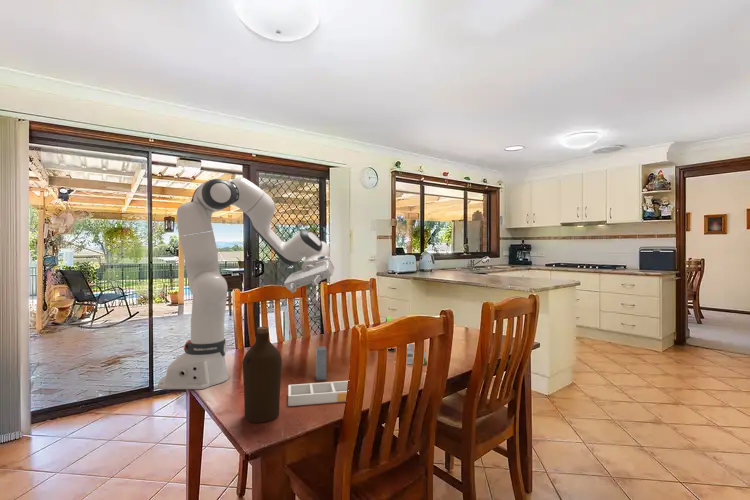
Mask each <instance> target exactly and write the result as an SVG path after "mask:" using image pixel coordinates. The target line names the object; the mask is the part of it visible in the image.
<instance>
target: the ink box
mask: <svg viewBox="0 0 750 500" xmlns="http://www.w3.org/2000/svg"><path fill="white" fill-rule="evenodd" d="M426 344H427V340H426V341H425V352H424V364H423V365H426V361H427V360H426V358H427V357H426V355H427V353H426V352H427V347H426V346H427V345H426ZM413 354H414V344H409V345H408V347H407V364H406V365H414V364H413Z"/></svg>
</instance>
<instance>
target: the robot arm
mask: <svg viewBox="0 0 750 500" xmlns="http://www.w3.org/2000/svg"><path fill="white" fill-rule="evenodd" d="M230 206H235V207H237V208H239V210H241V211H242V212H243V213H244V214H245V215H246V216H248V218H249V219H250V221H251V227H252V229H253V231H254V232H255V233H256V234H257V235H258V236H259V237H260V239H262V241H263V242H264V243H266V245H267V246H268V247H269V248H270V249H271V250H272V251H273V252H274V253H275V255H276V256H277V258H278V259H279V260H280V262H281V263H282V264H284V265H287V266H290V267H291V266H296V265H297V264H298V263H299V262H300V261H301V260H302V259H304V258H305V259H304V261H303V263H302V265H301V269H300V270H298V271H294V272H291V274H290V275H288V276H287V278H286V279H285V281H284V282H283V283H284V287H285V288H286V289H287V290H288V291H290V292H291V294H293V293H296V292H297V290H298V288H299V287H300V288H301V287H304V286H307V285H310V284H311V285H312V287H315V286H318V285H319V283H320V282H321V281H323V280H325V279H328V278H331V277H332V276H333V275H334V270H335V266H334V264H333V262H332V261H331V259H330V255H331V248H330V246H329V244H327V242H325V241H323V240H321V239H320V237H319V236H318V235H317V234H316V233H315V232H314V231H312V230H309V229H301V230H300V231H298V232H297V233H296V234H295V235H293V236H292V237H291V238H290V239H288V240H287V241H283V240H281V238H280V237H279V236H278V235H277V234H276V233H275V232H274V231H273V230H272V228H271V226H270V225H271V221H272V219H273V217H274V214H275V212H276V207H275V202H274V199H272V197H271V196H270V195H269V194H267V193H266V192H265V191H264V190H263V189H262V188H260V187H259V186H258V185H256V184H255V183H254V182H252V181H250V180H249V179H247V178H246V177H242V176H239V177H235V178H234V179H233V178H232V180H231V181H229V180H225V179H222V178H221V179H220V178H213V179H210V180H206V181H205V182H202V183H201V184H200V185H199V186H198V187H197V188H196V189H195V190H194V192H193V195H192V198H191V200H190V201H188V202H185V203H183V204H181V205H180V206H179V207H178V208H177V210H176V224H177V225H176V226H177V232H178V237H179V241H180V242H179V243H180V246H181V250H182V255H183V258H184V265H185V266H184V267H185V271H186V276H187V283H188V287H189V291H190V293H191V294H192V305H191V314H190V315H191V317H190V339H188V340H187V341H185V344H184V345H183V350H184V352H183V353H182V354H181V355H180V356H178V357H177V358H176V359H175V360H173V361H172V362H171V363H170V364H169V365H168V367H167V369H166V372H165V376H164V377H162V378H161V379H160V380H159V382H158V383H157V387H158V390H202V389H203V390H204V389H207V388H209V387H211V386H215V385H219V384H221V383H224V382H225V381H227V380H228V379H229V378H230V376H229V372H228V368H227V364H226V354H227V353H226V352H227V350H226V349H227V343H226V342H227V341H226V338H225V316H226V308H227V298H228V283H227V280H226V278H225V277H224V276H222V275H221V273H220V265H219V257H218V252H219V251H218V247H217V243H216V238H215V234H214V229H213V228H214V227H213V225H212V215H213V214H214V213H215V212H220V211H222V210H225V209H226V208H228V207H230Z"/></svg>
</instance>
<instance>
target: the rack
mask: <svg viewBox="0 0 750 500" xmlns="http://www.w3.org/2000/svg"><path fill="white" fill-rule="evenodd" d="M348 381H349V380H340V381H339V380H338V381H327V382H326V381H324V382H323V381H322V382H309V383H299V384H296V383H295V384H288V386H287V387H288V402H287V406H288V407H295V406H308V405H318V404H319V405H321V404H330V403H344V402H346V401H345V399H346V394H347V384H348Z"/></svg>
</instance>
